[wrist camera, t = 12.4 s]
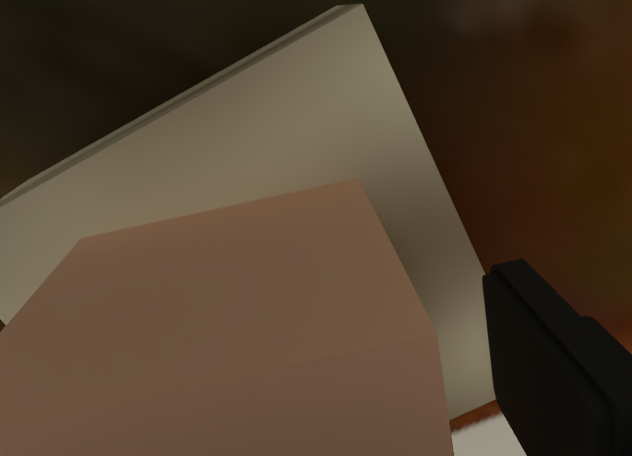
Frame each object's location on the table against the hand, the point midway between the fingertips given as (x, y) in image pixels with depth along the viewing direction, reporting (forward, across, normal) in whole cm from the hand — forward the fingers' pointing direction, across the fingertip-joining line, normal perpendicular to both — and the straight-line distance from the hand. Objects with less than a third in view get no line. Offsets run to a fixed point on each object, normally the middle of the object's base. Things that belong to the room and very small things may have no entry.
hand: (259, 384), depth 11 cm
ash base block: (+7, 0, 0) cm, 7 cm away
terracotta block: (+2, 0, 0) cm, 2 cm away
